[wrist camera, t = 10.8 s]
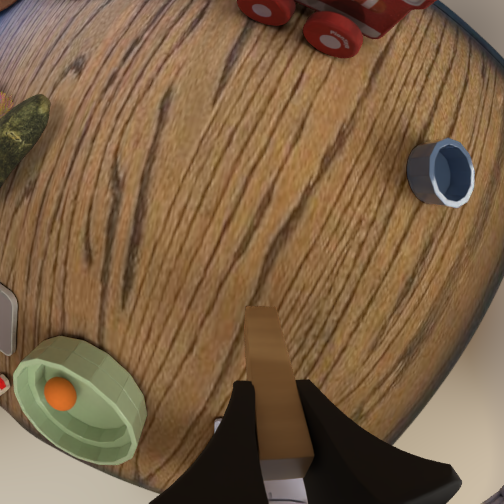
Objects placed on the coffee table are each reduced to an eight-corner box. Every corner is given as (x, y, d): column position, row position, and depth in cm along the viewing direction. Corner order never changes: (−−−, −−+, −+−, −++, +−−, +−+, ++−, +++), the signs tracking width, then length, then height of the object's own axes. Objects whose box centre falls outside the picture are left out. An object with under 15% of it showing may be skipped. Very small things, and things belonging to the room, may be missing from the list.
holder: (449, 208, 20) (472, 211, 17) (404, 199, 20) (427, 202, 17) (451, 150, 19) (474, 148, 16) (407, 136, 19) (429, 130, 16)
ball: (66, 418, 17) (64, 417, 19) (84, 391, 20) (80, 393, 21) (37, 393, 16) (38, 395, 18) (56, 367, 19) (55, 371, 21)
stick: (273, 331, 16) (304, 478, 7) (243, 330, 15) (254, 481, 7) (276, 306, 15) (315, 455, 7) (245, 305, 15) (258, 459, 6)
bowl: (155, 443, 23) (147, 475, 19) (55, 418, 22) (39, 444, 18) (138, 345, 21) (121, 377, 16) (24, 323, 20) (-3, 345, 15)
